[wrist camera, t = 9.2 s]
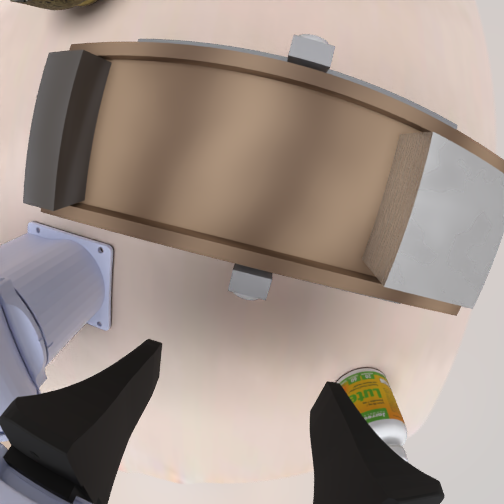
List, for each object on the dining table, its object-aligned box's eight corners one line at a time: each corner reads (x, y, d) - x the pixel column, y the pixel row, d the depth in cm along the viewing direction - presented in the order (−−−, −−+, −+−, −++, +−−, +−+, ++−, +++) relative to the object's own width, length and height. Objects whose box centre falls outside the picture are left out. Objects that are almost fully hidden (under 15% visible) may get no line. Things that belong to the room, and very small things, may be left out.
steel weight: (361, 259, 15) (383, 286, 12) (399, 134, 13) (433, 131, 10) (443, 282, 16) (472, 308, 12) (479, 174, 13) (517, 182, 10)
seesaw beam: (61, 204, 16) (19, 219, 13) (90, 52, 13) (51, 36, 9) (441, 300, 17) (471, 332, 13) (488, 160, 14) (530, 167, 10)
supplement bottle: (373, 356, 23) (407, 442, 14) (393, 388, 24) (423, 466, 15) (320, 385, 25) (333, 475, 15) (345, 414, 26) (361, 494, 17)
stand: (105, 226, 21) (59, 250, 15) (144, 40, 17) (105, 11, 11) (394, 300, 21) (425, 343, 16) (450, 123, 17) (500, 119, 11)
